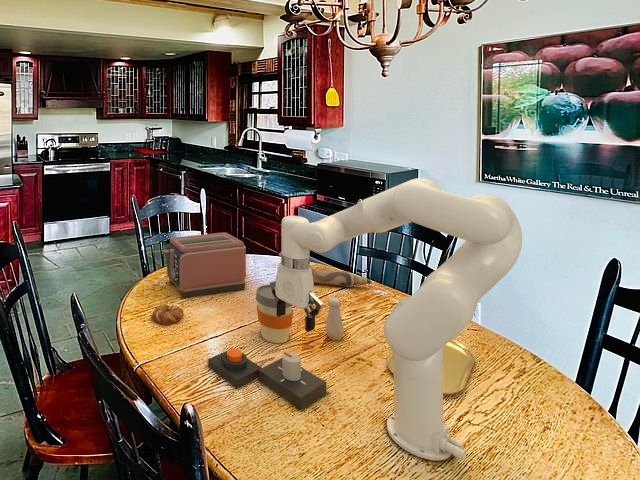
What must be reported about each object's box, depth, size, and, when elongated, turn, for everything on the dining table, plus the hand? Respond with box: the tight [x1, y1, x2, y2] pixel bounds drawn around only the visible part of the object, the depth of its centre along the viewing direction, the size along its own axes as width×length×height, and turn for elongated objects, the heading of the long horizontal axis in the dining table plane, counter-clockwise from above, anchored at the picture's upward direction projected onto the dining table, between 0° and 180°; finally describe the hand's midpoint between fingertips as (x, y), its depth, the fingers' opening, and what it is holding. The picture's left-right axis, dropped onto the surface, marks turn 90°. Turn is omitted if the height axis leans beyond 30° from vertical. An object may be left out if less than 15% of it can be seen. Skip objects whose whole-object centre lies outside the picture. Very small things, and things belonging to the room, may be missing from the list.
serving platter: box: [385, 339, 476, 396], centre depth 119 cm, size 19×35×2 cm, turn 134°
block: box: [207, 350, 262, 389], centre depth 116 cm, size 12×10×4 cm
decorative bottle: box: [310, 266, 372, 289], centre depth 177 cm, size 26×8×7 cm, turn 71°
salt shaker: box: [324, 296, 345, 341], centre depth 134 cm, size 6×6×13 cm
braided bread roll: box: [151, 304, 184, 326], centre depth 148 cm, size 12×11×4 cm
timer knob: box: [281, 351, 302, 381], centre depth 109 cm, size 5×5×5 cm
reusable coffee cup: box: [255, 284, 294, 344], centre depth 135 cm, size 13×13×15 cm
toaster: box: [162, 231, 247, 299], centre depth 177 cm, size 19×36×21 cm, turn 107°
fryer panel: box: [258, 357, 327, 410], centre depth 109 cm, size 14×11×3 cm
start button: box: [226, 347, 243, 362], centre depth 116 cm, size 4×4×2 cm
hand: (294, 322), depth 111 cm, fingers open, 9 cm apart
